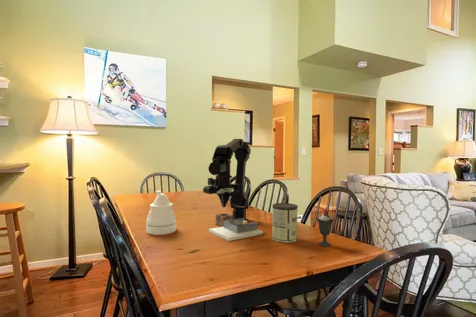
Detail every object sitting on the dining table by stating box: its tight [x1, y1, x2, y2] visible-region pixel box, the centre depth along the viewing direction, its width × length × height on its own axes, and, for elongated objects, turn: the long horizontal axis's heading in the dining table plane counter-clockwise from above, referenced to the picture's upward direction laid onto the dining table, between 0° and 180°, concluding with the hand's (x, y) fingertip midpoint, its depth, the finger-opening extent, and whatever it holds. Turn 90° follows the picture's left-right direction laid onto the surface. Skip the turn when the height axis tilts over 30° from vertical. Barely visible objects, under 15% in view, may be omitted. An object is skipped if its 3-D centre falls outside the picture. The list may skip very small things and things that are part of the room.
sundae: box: [316, 206, 335, 248], centre depth 108 cm, size 7×7×15 cm
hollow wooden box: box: [215, 212, 233, 227], centre depth 136 cm, size 6×6×5 cm
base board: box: [208, 220, 264, 242], centre depth 123 cm, size 18×16×4 cm
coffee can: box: [271, 202, 299, 244], centre depth 115 cm, size 10×10×14 cm
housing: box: [223, 218, 259, 233], centre depth 125 cm, size 11×11×3 cm
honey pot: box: [145, 190, 177, 236], centre depth 124 cm, size 13×13×18 cm
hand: (223, 207), depth 127 cm, fingers closed
